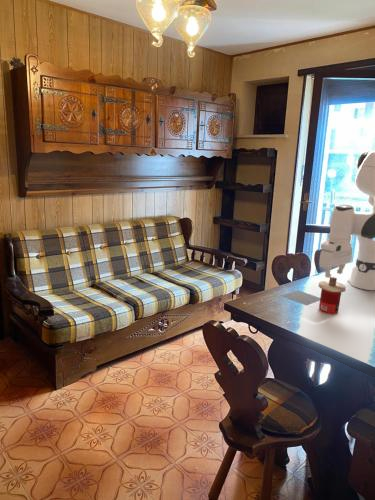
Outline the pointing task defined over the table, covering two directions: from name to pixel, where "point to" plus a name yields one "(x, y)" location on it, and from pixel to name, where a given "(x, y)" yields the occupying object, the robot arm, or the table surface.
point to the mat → (301, 297)
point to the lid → (332, 285)
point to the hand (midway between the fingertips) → (333, 275)
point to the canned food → (329, 302)
